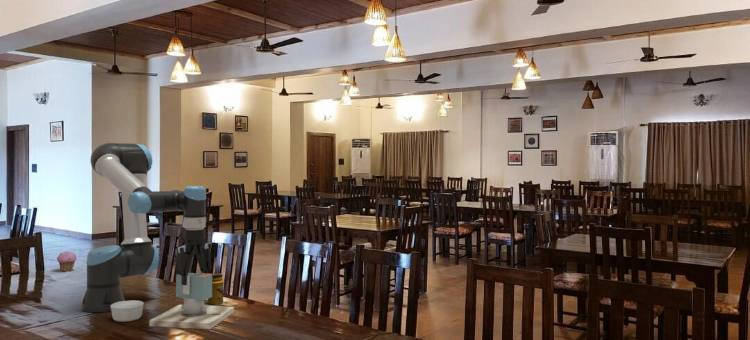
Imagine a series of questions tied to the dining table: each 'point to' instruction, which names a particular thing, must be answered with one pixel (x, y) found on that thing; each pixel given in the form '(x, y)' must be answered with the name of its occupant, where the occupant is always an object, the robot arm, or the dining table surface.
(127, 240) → the robot arm
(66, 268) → the cupcake
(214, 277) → the condiment
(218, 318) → the post base
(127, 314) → the ramekin
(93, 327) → the dining table surface
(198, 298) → the teal block on base
